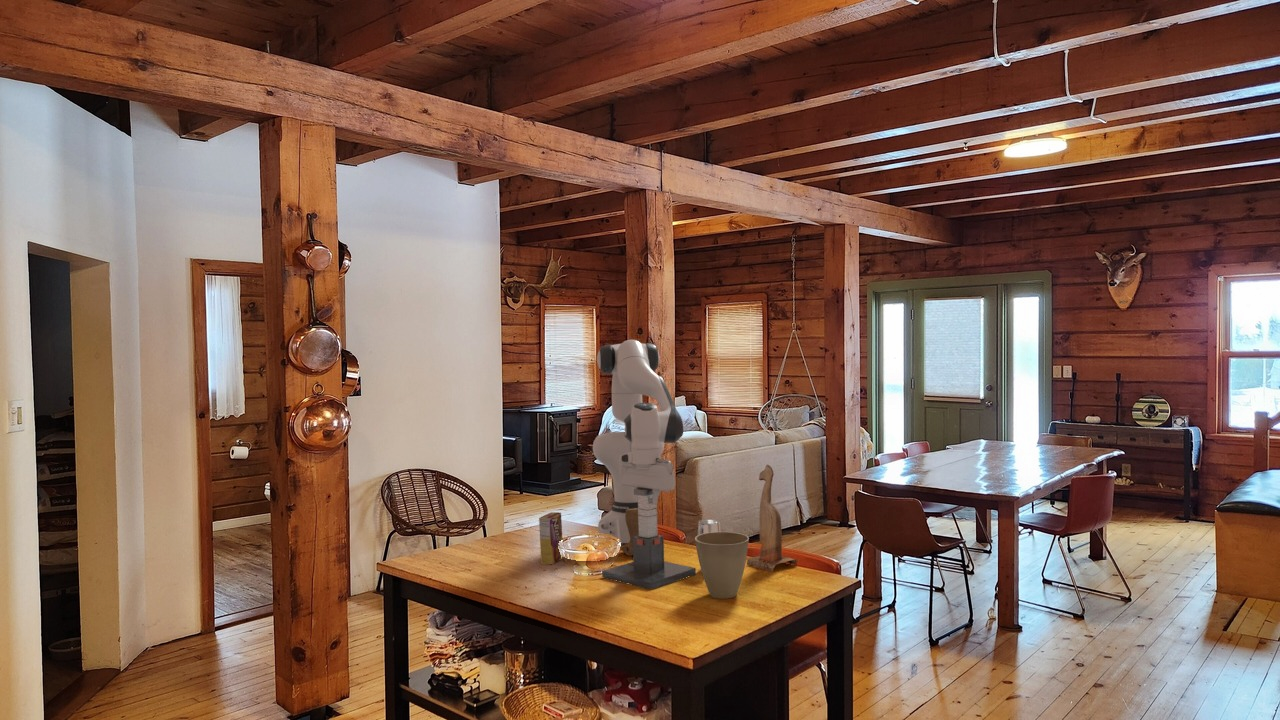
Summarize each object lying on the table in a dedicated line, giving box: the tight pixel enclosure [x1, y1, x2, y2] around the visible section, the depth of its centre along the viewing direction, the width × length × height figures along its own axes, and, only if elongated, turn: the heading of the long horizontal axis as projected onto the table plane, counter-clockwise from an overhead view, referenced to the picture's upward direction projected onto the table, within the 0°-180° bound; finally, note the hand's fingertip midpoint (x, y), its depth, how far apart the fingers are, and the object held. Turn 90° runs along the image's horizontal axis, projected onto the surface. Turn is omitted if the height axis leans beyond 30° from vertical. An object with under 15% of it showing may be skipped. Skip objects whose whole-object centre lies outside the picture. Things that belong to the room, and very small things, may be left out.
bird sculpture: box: [746, 464, 798, 573], centre depth 257 cm, size 11×12×32 cm
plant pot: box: [694, 531, 750, 600], centre depth 227 cm, size 15×15×16 cm
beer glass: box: [697, 518, 722, 571], centre depth 254 cm, size 7×7×15 cm
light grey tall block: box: [634, 488, 658, 539], centre depth 248 cm, size 4×7×19 cm, turn 136°
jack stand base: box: [601, 534, 697, 591], centre depth 248 cm, size 20×20×12 cm
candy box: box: [538, 511, 563, 565], centre depth 269 cm, size 9×4×15 cm, turn 160°
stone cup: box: [620, 508, 639, 556], centre depth 279 cm, size 15×12×15 cm
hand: (647, 502), depth 248 cm, fingers closed on light grey tall block, 4 cm apart
